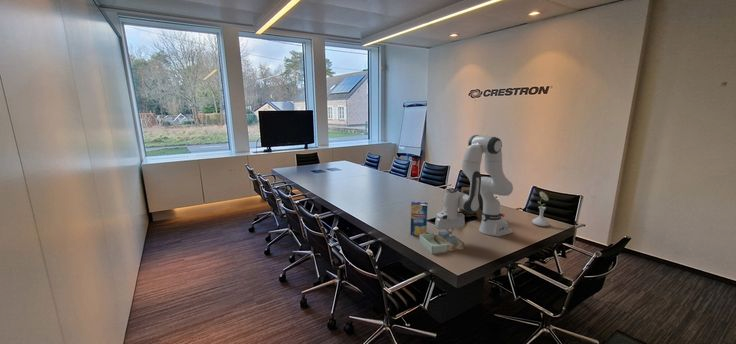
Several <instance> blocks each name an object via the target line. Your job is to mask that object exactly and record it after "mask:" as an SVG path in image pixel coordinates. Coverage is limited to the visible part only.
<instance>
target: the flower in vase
mask: <svg viewBox="0 0 736 344" xmlns="http://www.w3.org/2000/svg"><path fill="white" fill-rule="evenodd" d="M539 197H541V199H540V201H539V200H538V201H537V204H540V206H538V209H539V215H538V216H537V217H536V218H534V219H532V220H531V223H532V224H533V225H535V226H537V227H548V226H550V222H549V221H548V220H547V219H546V218H545V217H544V212H545V210H546V209H547V207H546V206H544V205H546V203H543V204H542V203H541V202H542V200H544V201H545V202H548V201H549V196H548V195H547V194H546V193H545V192H544V191H539Z"/></svg>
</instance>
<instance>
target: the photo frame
mask: <svg viewBox="0 0 736 344" xmlns="http://www.w3.org/2000/svg"><path fill="white" fill-rule="evenodd" d="M460 192H461V193H464V194H467V195H469V193H470V186H469V187H467V186H461V191H460ZM479 200H480V207H479V209H478V210H477V211H476V212H475V213H472V214H470V213H468V212H466V211H465V210H463V209H461V208H458V212H459V211H460V212H463V213H464V214H466V216H465V217H471V216H476V217H475V218H477V221H480V222H481V221H482V211H483V199H482V196H481V194H480V196H479Z"/></svg>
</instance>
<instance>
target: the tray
mask: <svg viewBox="0 0 736 344" xmlns="http://www.w3.org/2000/svg"><path fill="white" fill-rule="evenodd" d="M418 236H419V237H418V239H419V241H418V242H419V243H420V244H421V245H422V246H423V247H424V248H425V249H426V250H427V251H428V252H429V253H430V254H431V255H435V254H443V253H448V251H447V244H442V245H439V244H438V243H437V242H436V241H435V240H434V236H435V232H434V233H433V232H431V233H426V234H422V235H418Z"/></svg>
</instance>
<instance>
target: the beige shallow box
mask: <svg viewBox="0 0 736 344" xmlns="http://www.w3.org/2000/svg"><path fill="white" fill-rule="evenodd" d="M449 236H455V235H454V234H453V233H452V234H450V235H449ZM455 237H456V238H458V237H457V236H455ZM434 240H435V241H436V242H437V243H438V244H439V245H442V244H447V252H450V251H451V252H452V251H458V250H459V251H460V250H464V249H465V242H464V241H462V240H461V239H460V238H458V243H449V242H448V241H447V238H443V239H442V238H441V237H440V236H439V234H434Z"/></svg>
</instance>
